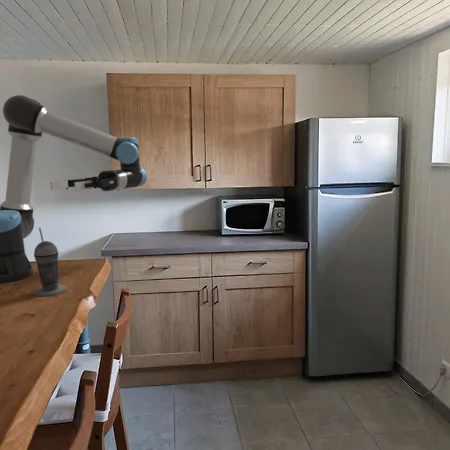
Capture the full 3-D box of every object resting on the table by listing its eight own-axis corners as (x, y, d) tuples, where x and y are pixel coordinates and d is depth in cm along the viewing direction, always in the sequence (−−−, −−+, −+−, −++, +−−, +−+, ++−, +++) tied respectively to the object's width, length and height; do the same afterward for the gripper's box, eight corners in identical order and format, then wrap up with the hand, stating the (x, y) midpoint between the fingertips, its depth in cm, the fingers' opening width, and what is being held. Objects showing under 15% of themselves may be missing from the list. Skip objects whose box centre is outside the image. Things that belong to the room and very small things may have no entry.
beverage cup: (54, 293, 141) (47, 229, 137) (33, 292, 142) (25, 230, 139) (67, 285, 148) (60, 225, 144) (46, 285, 149) (39, 225, 146)
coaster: (26, 293, 144) (26, 291, 144) (54, 284, 152) (54, 282, 152) (45, 298, 138) (44, 296, 138) (73, 288, 146) (72, 287, 146)
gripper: (135, 191, 165) (87, 198, 148) (91, 189, 179) (43, 196, 162) (134, 170, 163) (85, 175, 146) (89, 170, 178) (40, 175, 161)
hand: (62, 186), depth 154 cm, fingers open, 13 cm apart
